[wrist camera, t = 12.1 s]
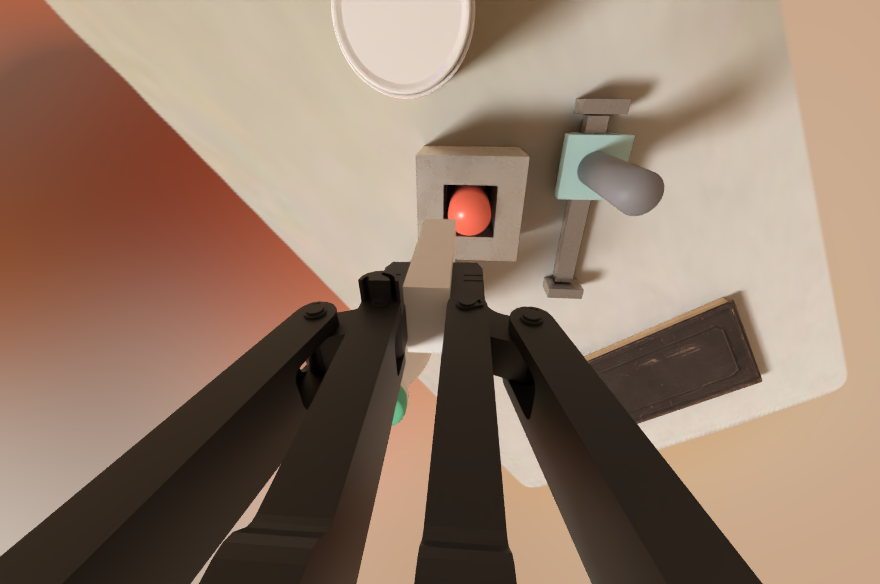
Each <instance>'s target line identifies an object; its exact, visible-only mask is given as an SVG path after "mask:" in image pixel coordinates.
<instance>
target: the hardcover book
mask: <svg viewBox="0 0 880 584" xmlns="http://www.w3.org/2000/svg"><path fill="white" fill-rule="evenodd" d="M584 358H585V359H586V360H587V361H588V363H589V364H590V365H591V366H592V368H593V369H594V370H595V372H596V373H597V374H598V375H599V377H600V378H601V379H602V380H603V382H604V383H605V384H606V385H607V387H608V388H609V389H610V391H611V392H612V393H613V394H614V396H615V397H616V398H617V399H618V401H619V402H620V403H621V405H622V406H623V407H624V408H625V410H626V411H627V412H628V413H629V415H630V416H631V417H632V419H633V420H634V421H635V422H636V424H638V423H641V422H644V421H647V420H650V419H653V418H656V417H659V416H662V415H665V414H668V413H671V412H674V411H677V410H680V409H683V408H686V407H689V406H692V405H695V404H698V403H700V402H703V401H706V400H709V399H712V398H715V397H718V396H721V395H724V394H727V393H730V392H733V391H736V390H739V389H742V388H745V387H748V386H751V385H754V384H757V383H760V382H762V378H761V375H760V373H759V370H758V367H757V364H756V361H755V359H754V356H753V353H752V350H751V347H750V345H749V342H748V339H747V336H746V333H745V331H744V328H743V325H742V322H741V319H740V317H739V314H738V311H737V308H736V305H735V303H734V301H733V300H731V301H727V300H725V298H723V297H722V298H720V299H718V300H715V301H713V302H711V303H708V304H706V305H704V306H701V307H699V308H697V309H694V310H692V311H690V312H687V313H685V314H682V315H680V316H678V317H675V318H673V319H671V320H668V321H666V322H664V323H661V324H659V325H657V326H654V327H652V328H650V329H647V330H645V331H643V332H640V333H638V334H636V335H633V336H631V337H629V338H626V339H624V340H622V341H619V342H617V343H615V344H612V345H610V346H608V347H605V348H603V349H601V350H598V351H596V352H594V353H591V354H589V355H587V356H584Z"/></svg>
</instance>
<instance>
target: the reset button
mask: <svg viewBox="0 0 880 584" xmlns="http://www.w3.org/2000/svg"><path fill="white" fill-rule="evenodd" d="M448 219H455V220H456V232H458V233H460V234H462V235H467V236H471V235H476V234H479V233H480V232H482V231H483V230H484V229H485V228H486V227H487V226H488V224H489V222H490V219H491V209H490V204H489V199H488V194H487V191H486V189H485V187H484V186H483V185H456V186H455V187H454V189H453V190H452V193H451V198H450V204H449V209H448Z"/></svg>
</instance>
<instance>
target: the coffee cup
mask: <svg viewBox="0 0 880 584" xmlns="http://www.w3.org/2000/svg"><path fill="white" fill-rule="evenodd" d="M331 13H332V20H333V26H334V30H335V34H336V37H337V40H338V43H339V46H340V48H341V50H342V52H343V54H344V56H345V58H346V60H347V61H348V63H349V65H350V66H351V67H352V69H353V70H354V71H355V73H356V74H357V75H358V76H359V77H360V78H361V79H362V80H363V81H364V82H365V83H366V84H368V85H369V86H370V87H372V88H373V89H375V90H377V91H378V92H380V93H383V94H385V95H387V96H391V97H394V98H400V99H413V98H419V97H423V96H426V95H428V94H430V93H432V92H434V91H436V90H438V89H439V88H441V87H442V86H443V85H444V84H446V83H447V82H448V81H449V80H450V79H451V78H452V76H453V75H454V74H455V73H456V72H457V70H458V69H459V67H460V65H461V64H462V62H463V60H464V58H465V56H466V54H467V51H468V49H469V46H470V43H471V39H472V35H473V30H474V23H475V0H331Z"/></svg>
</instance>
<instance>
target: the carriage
mask: <svg viewBox="0 0 880 584" xmlns="http://www.w3.org/2000/svg"><path fill="white" fill-rule="evenodd" d="M634 138H635V135H631V134H618V133H614V132H606V134H582V133H578V132H569V133H565V136H564V142H563V148H562V154H561V159H560V165H559V171H558V177H557V183H556V188H555V194H554V196H555V197H556V198H557V199H571V200H606V201H608V202H609V203H610V204H612V205H613V206H614V207H616V208H617V209H618V210H620V211H621V212H623V213H624V214H626V215H630V216H639V215H643V214H645V213H647V212H649V211H651V210H652V209H653V208H654V207H655V206H656V205H657V204H658V203H659V202H660V200H661V198H662V196H663V193H664V183H663V180H662V178H661V177H660V176H659V175H658V174H657V173H655V172H652V171H650V170H647V169H645V168H642V167H640V166H637V165H634V164H632V163H629V162H628V161H629V157H630V153H631V149H632V146H633V142H634Z"/></svg>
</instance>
